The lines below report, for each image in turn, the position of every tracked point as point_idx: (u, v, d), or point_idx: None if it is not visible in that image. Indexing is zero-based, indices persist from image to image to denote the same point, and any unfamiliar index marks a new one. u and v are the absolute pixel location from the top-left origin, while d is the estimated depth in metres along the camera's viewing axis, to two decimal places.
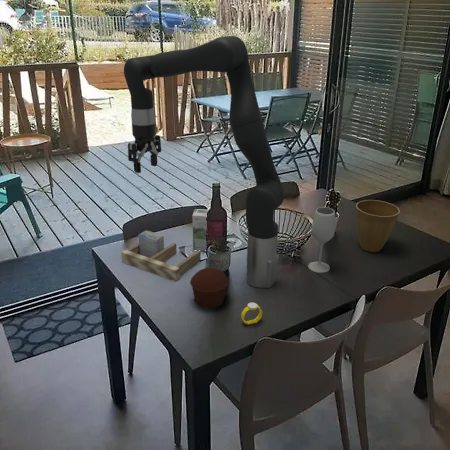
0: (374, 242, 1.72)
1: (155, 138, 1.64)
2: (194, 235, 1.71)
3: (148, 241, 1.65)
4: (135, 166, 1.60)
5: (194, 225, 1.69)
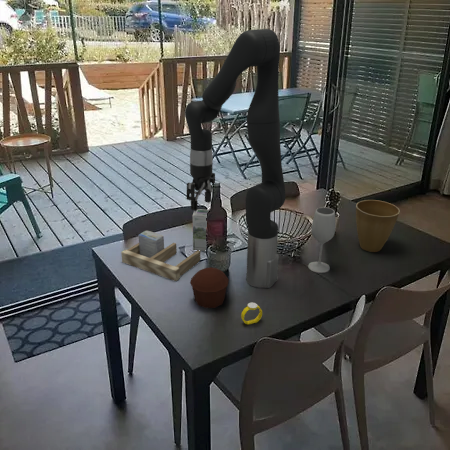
0: (374, 242, 1.72)
1: (210, 176, 1.68)
2: (194, 235, 1.71)
3: (148, 241, 1.65)
4: (192, 204, 1.63)
5: (194, 225, 1.69)
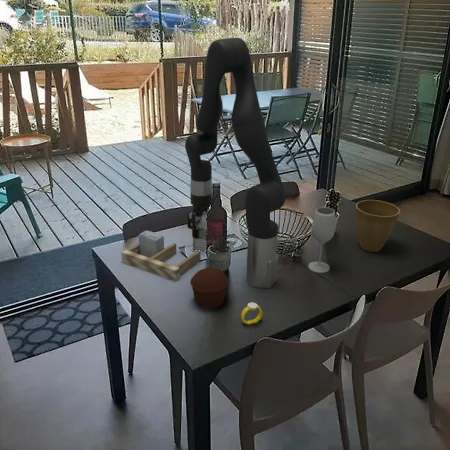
0: (374, 242, 1.72)
1: None
2: None
3: (148, 241, 1.65)
4: (193, 232, 1.68)
5: None
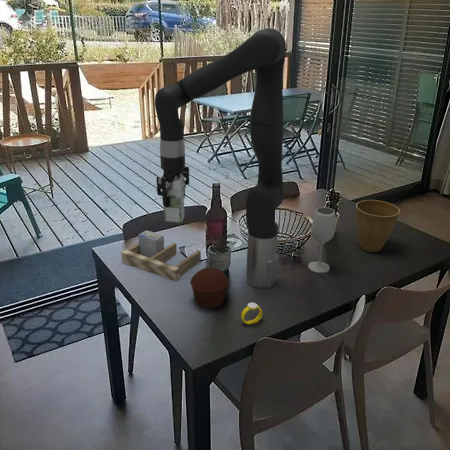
0: (374, 242, 1.72)
1: (184, 170, 1.55)
2: None
3: (148, 241, 1.65)
4: (164, 200, 1.50)
5: None
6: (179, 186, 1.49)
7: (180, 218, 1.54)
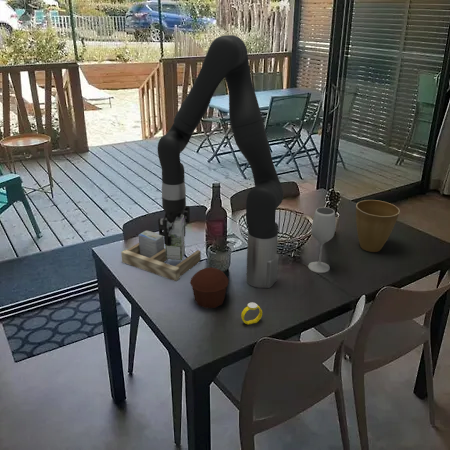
0: (374, 242, 1.72)
1: (184, 209, 1.61)
2: None
3: (148, 241, 1.65)
4: (165, 240, 1.56)
5: None
6: (180, 226, 1.55)
7: (181, 256, 1.60)
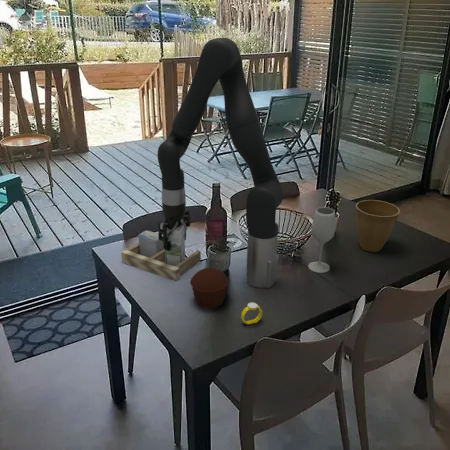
0: (374, 242, 1.72)
1: (184, 213, 1.61)
2: (166, 251, 1.60)
3: (148, 241, 1.65)
4: (165, 244, 1.57)
5: None
6: (180, 236, 1.57)
7: None
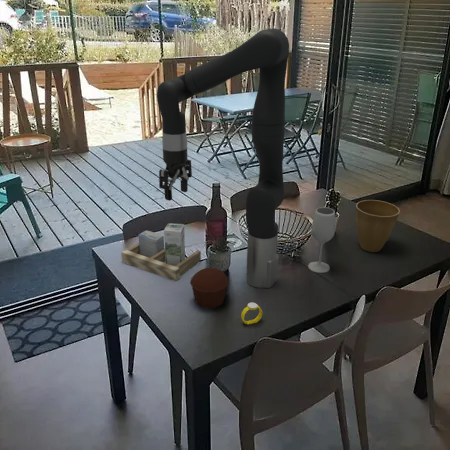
0: (374, 242, 1.72)
1: (186, 163, 1.56)
2: (166, 251, 1.60)
3: (148, 241, 1.65)
4: (166, 193, 1.51)
5: (166, 241, 1.58)
6: (180, 236, 1.57)
7: None
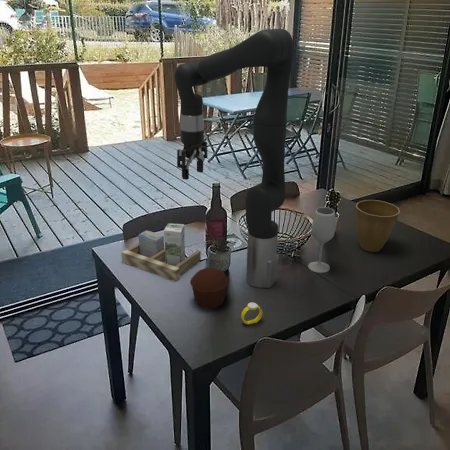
0: (374, 242, 1.72)
1: (202, 144, 1.63)
2: (166, 251, 1.60)
3: (148, 241, 1.65)
4: (183, 173, 1.58)
5: (166, 241, 1.58)
6: (180, 236, 1.57)
7: None
